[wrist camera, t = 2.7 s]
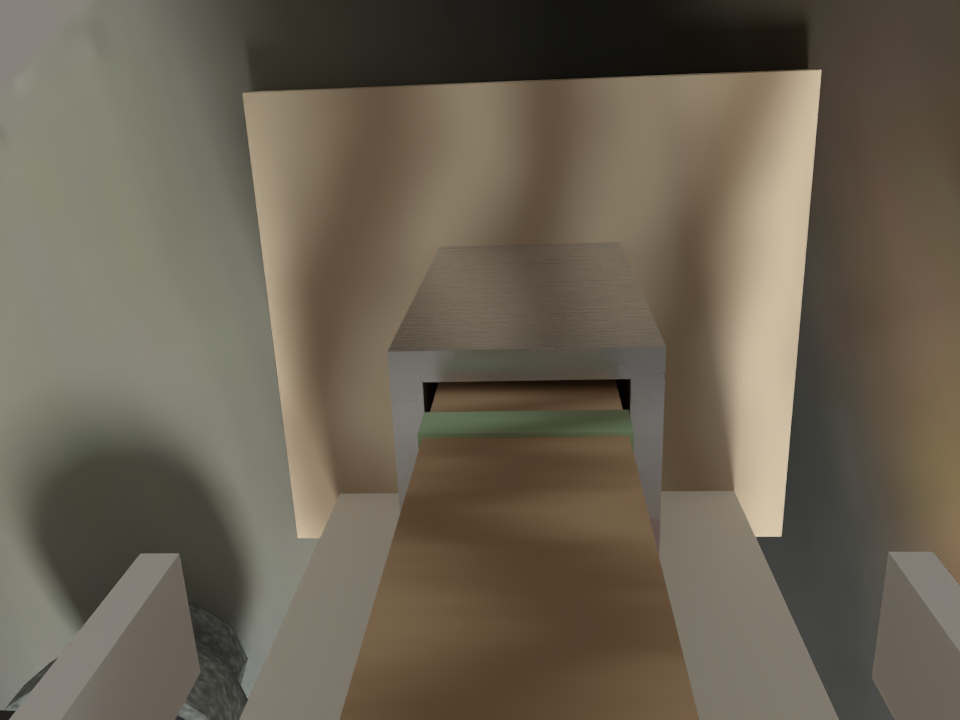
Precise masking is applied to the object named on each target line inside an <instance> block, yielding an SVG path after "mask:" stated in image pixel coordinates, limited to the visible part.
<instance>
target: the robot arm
mask: <svg viewBox="0 0 960 720" xmlns="http://www.w3.org/2000/svg"><path fill="white" fill-rule="evenodd" d="M200 673H201V672H200V666H199V661H198V655H197V650H196V644H195V638H194V633H193V627H192V621H191V616H190V610H189V605H188V599H187V593H186V588H185V582H184V576H183V571H182V565H181V560H180V554H179V553H140V555H139V556H138V557H137V558H136V560H135V561H134V562H133V563H132V565H131V566H130V567H129V569H128V570H127V571H126V572H125V574H124V575H123V576H122V577H121V579H120V580H119V581H118V582H117V584H116V585H115V586H114V588H113V589H112V590H111V591H110V593H109V594H108V595H107V596H106V598H105V599H104V600H103V601H102V603H101V604H100V605H99V606H98V608H97V609H96V610H95V612H94V613H93V614H92V615H91V617H90V618H89V619H88V620H87V622H86V623H85V624H84V625H83V627H82V628H81V629H80V631H79V632H78V633H77V634H76V636H75V637H74V638H73V639H72V641H71V642H70V643H69V644H68V646H67V647H66V648H65V649H64V651H63V652H62V653H61V655H60V656H59V657H58V658H57V660H56V661H55V662H54V663H53V665H52V666H51V667H50V668H49V670H48V671H47V672H46V673H45V675H44V676H43V677H42V679H41V680H40V681H39V682H38V684H37V685H36V686H35V687H34V689H33V690H32V691H31V692H30V694H29V695H28V696H27V698H26V699H25V700H24V701H23V703H22V704H21V705H20V706H19V708H18V709H17V710H16V711H2V710H0V720H175V719H176V717H177V715H178V713H179V711H180V710H181V708H182V706H183V704H184V702H185V700H186V698H187V697H188V695H189V693H190V691H191V689H192V687H193V686H194V684H195V682H196V680H197V678H198V676H199V674H200ZM872 679H873V681H874V683H875V685H876V686H877V688H878V690H879V692H880V694H881V696H882V697H883V699H884V701H885V703H886V705H887V707H888V709H889V710H890V712H891V714H892V716H893V718H894V720H960V585H959V584H958V583H957V582H956V580H955V579H954V578H953V577H952V575H951V574H950V573H949V572H948V570H947V569H946V568H945V567H944V565H943V564H942V563H941V562H940V560H939V559H938V558H937V557H936V555H935V554H934V553H933V552H889V553H888V561H887V568H886V575H885V583H884V590H883V598H882V605H881V613H880V620H879V628H878V635H877V643H876V650H875V658H874V665H873V673H872Z"/></svg>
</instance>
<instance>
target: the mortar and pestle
mask: <svg viewBox="0 0 960 720" xmlns="http://www.w3.org/2000/svg"><path fill="white" fill-rule="evenodd" d="M188 605H189V610H190V616H191V621H192V627H193V633H194V638H195V644H196V650H197V655H198V661H199V666H200V672H201V673H200V674H199V676H198V678H197V680H196V682H195V684H194V686H193V687H192V689H191V691H190V693H189V695H188V697H187V698H186V700H185V702H184V704H183V706H182V708H181V710H180V711H179V713H178V715H177V717H176V719H175V720H239V719H240V717H241V715H242V712H243V710H244V708H245V706H246V703H247V701H248V699H247V697H246V695H245V693H244V691H243V689H242V687H241V682H242V679H243V675H244V671H245V667H246V664H247V660H248V659H247V657H246V655H245V653H244V651H243V649H242V647H241V645H240V643H239V641H238V639H237V637H236V635H235V633H234V631H233V629H232V627H231V626H230V625H228V624H227V623H225V622H223V621H222V620H220V619H218V618H217V617H215V616H213V615H212V614H210V613H208V612H207V611H205V610H203V609H202V608H200V607H198V606H197V605H195V604H188ZM56 660H57V658H56V659H55V660H54V661H52V662H51V663H49V664H48V665H47V666H46V667H45V668H43V669H42V670H41V671H40V672H39V673H38V674H37V675H35V676H34V677H33V678H32V679H31V680H30V681H28V682H27V683H26V684H25V685H24V686H23V687H22V689H21V690H20V691H19V692H18V693H17V695H16V696H15V697H14V698H13V700H12V701H11V702H10V703H9V705H8V706H7V707H6V708H5V711H16V710H17V709H18V708H19V706H20V705H21V704H22V703H23V701H24V700H25V699H26V698H27V696H28V695H29V694H30V692H31V691H32V690H33V689H34V687H35V686H36V685H37V684H38V682H39V681H40V680H41V679H42V677H43V676H44V675H45V673H46V672H47V671H48V670H49V668H50V667H51V666H52V665H53V663H54V662H55V661H56Z"/></svg>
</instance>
